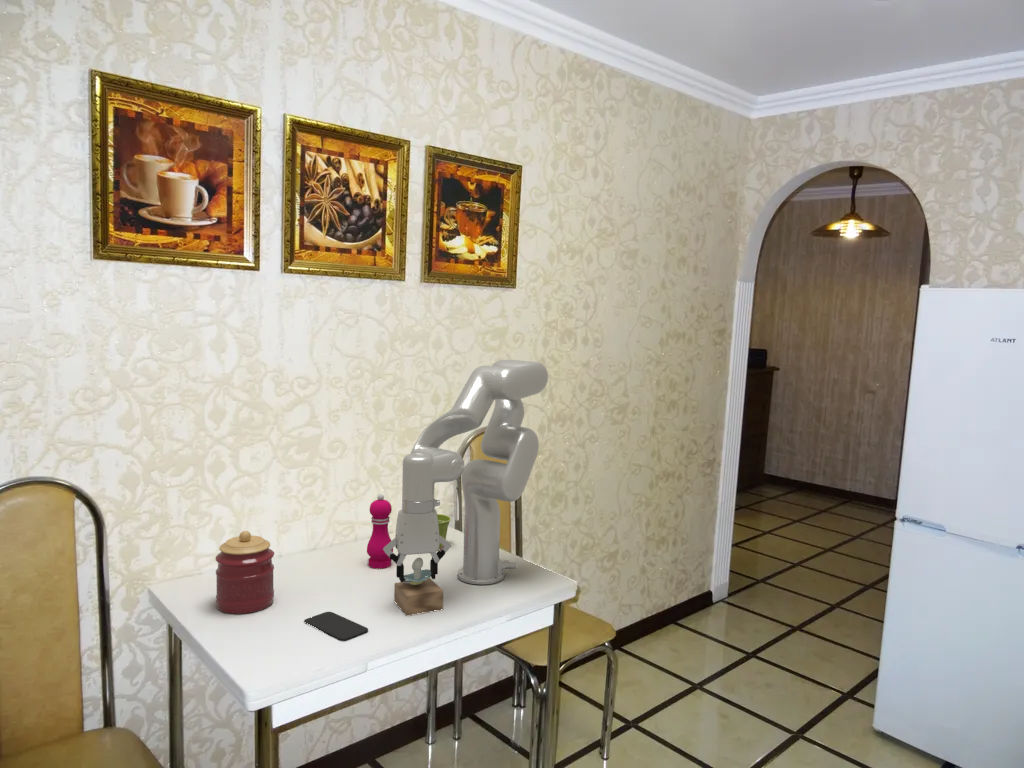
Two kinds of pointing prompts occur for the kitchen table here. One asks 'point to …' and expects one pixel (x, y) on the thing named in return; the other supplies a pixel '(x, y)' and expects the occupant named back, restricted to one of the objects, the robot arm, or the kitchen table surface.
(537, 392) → the robot arm
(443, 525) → the plant pot
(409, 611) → the block
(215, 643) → the kitchen table surface
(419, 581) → the pacifier
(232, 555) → the canister
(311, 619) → the phone
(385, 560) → the pepper mill
